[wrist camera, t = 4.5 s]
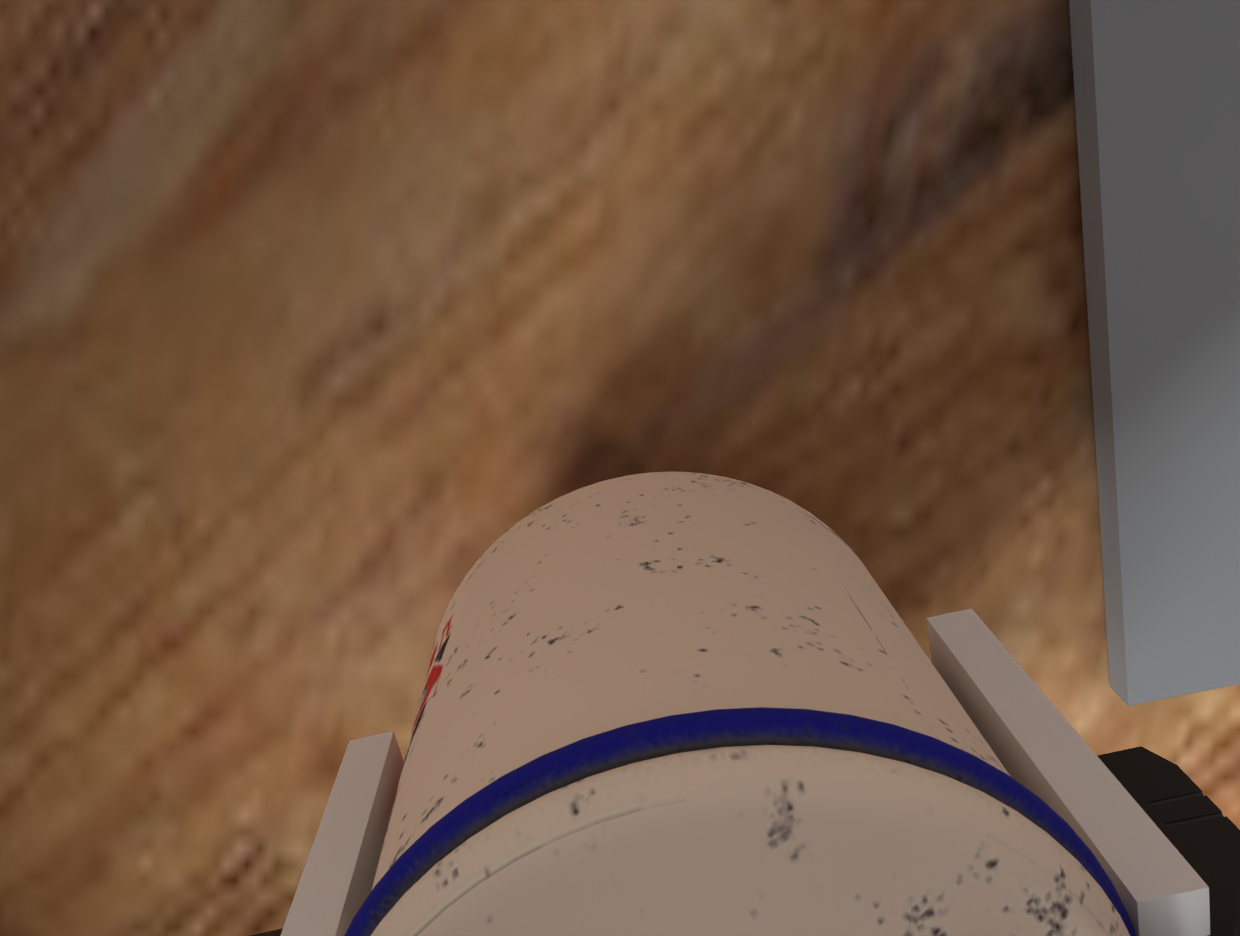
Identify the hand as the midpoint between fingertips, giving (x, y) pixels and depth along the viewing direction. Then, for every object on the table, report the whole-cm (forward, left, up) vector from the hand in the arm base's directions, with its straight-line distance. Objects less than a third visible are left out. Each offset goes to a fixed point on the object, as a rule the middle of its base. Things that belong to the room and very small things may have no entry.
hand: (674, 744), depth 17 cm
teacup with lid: (0, -1, -2) cm, 3 cm away
